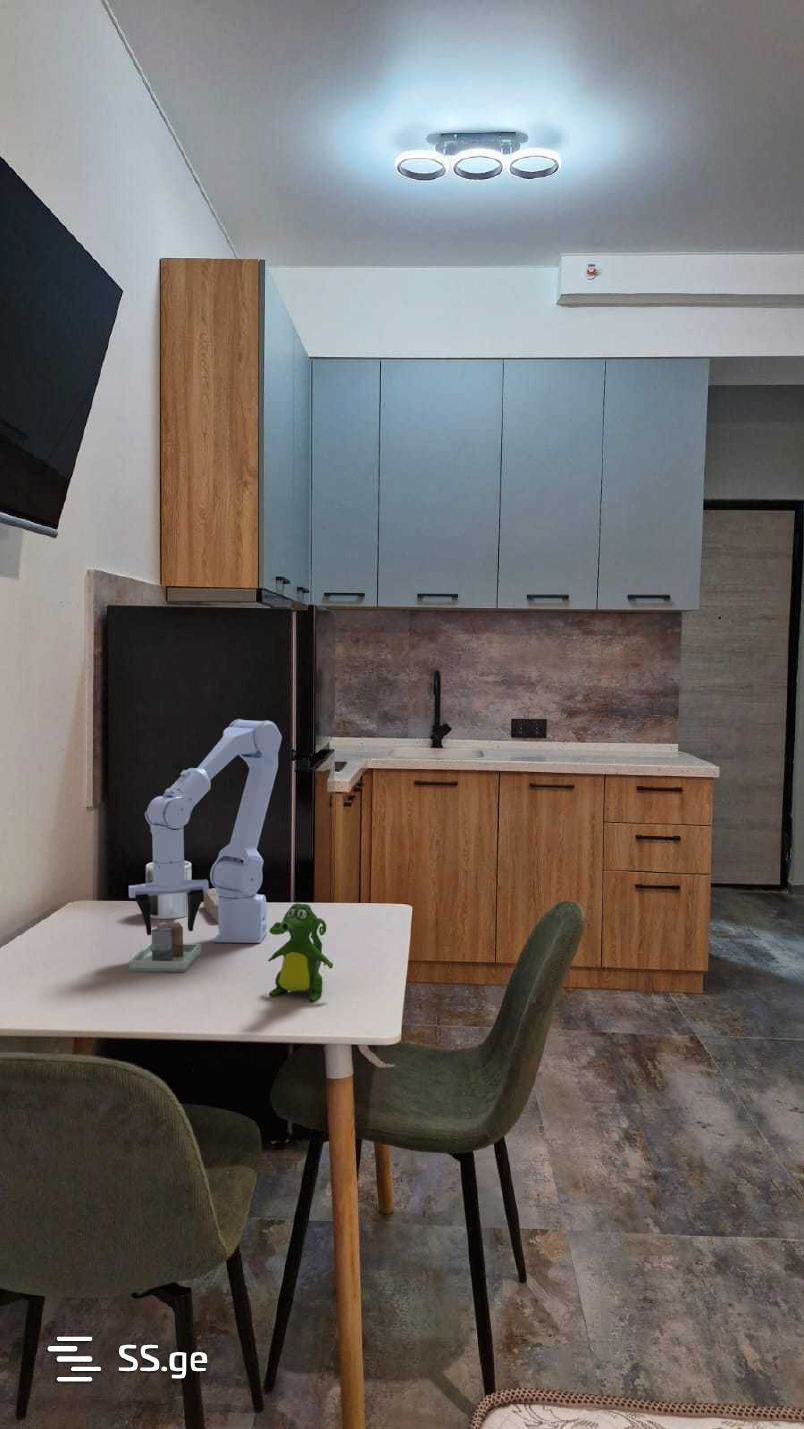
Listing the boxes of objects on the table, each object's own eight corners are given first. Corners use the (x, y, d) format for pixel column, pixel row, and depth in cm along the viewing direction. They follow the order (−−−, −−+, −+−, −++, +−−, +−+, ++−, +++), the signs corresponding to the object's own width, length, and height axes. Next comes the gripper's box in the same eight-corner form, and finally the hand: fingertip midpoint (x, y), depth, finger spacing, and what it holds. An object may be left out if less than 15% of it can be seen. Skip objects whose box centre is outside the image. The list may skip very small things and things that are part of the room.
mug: (202, 909, 226) (201, 861, 226) (178, 923, 214) (177, 871, 214) (159, 907, 228) (158, 859, 228) (133, 920, 217) (132, 869, 216)
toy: (242, 1006, 162) (241, 914, 161) (295, 972, 180) (295, 889, 179) (308, 1015, 158) (308, 920, 157) (355, 979, 176) (355, 894, 175)
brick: (254, 921, 217) (254, 900, 217) (215, 925, 214) (215, 903, 214) (239, 905, 232) (239, 885, 232) (202, 908, 229) (202, 887, 229)
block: (178, 950, 191) (178, 922, 191) (183, 956, 188) (182, 927, 187) (157, 953, 190) (157, 924, 189) (161, 958, 186) (161, 929, 186)
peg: (171, 959, 186) (171, 927, 185) (173, 964, 182) (172, 931, 182) (151, 961, 185) (151, 928, 184) (152, 966, 181) (152, 933, 181)
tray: (201, 953, 192) (201, 943, 192) (184, 972, 180) (184, 962, 180) (149, 952, 192) (149, 943, 192) (129, 971, 180) (129, 961, 180)
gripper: (203, 853, 195) (205, 922, 196) (126, 859, 190) (128, 930, 191) (209, 860, 189) (211, 932, 189) (130, 866, 184) (131, 939, 184)
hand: (169, 931), depth 190 cm, fingers open, 7 cm apart
